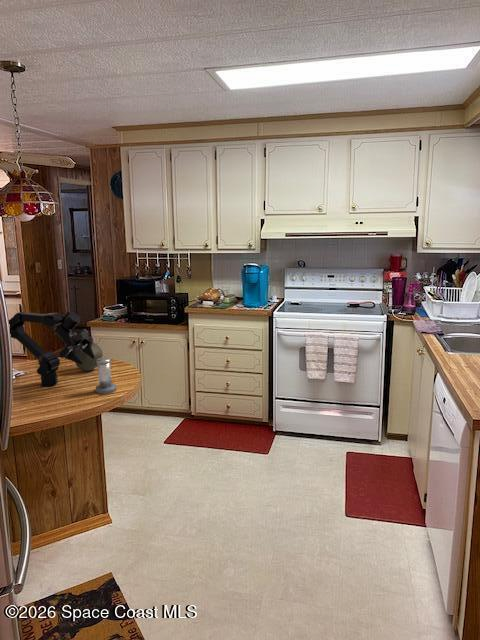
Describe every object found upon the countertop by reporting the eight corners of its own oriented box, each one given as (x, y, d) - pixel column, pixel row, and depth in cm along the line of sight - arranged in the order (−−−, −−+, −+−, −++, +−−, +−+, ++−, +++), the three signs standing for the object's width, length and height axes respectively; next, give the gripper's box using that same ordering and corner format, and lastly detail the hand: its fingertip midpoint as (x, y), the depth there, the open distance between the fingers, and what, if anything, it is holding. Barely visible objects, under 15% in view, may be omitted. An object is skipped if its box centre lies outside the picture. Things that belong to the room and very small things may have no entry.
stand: (93, 394, 211) (93, 390, 210) (99, 387, 219) (98, 383, 219) (113, 394, 211) (113, 389, 210) (118, 387, 220) (118, 383, 219)
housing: (99, 389, 211) (96, 362, 208) (97, 385, 216) (95, 358, 214) (113, 387, 213) (111, 360, 210) (112, 383, 219) (109, 356, 216)
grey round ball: (76, 376, 236) (73, 347, 233) (74, 368, 249) (72, 341, 246) (105, 372, 241) (102, 344, 238) (102, 364, 254) (100, 338, 251)
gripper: (63, 329, 204) (86, 356, 203) (88, 320, 221) (109, 345, 221) (49, 344, 208) (71, 371, 207) (75, 334, 225) (96, 359, 225)
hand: (88, 361), depth 215 cm, fingers open, 9 cm apart
